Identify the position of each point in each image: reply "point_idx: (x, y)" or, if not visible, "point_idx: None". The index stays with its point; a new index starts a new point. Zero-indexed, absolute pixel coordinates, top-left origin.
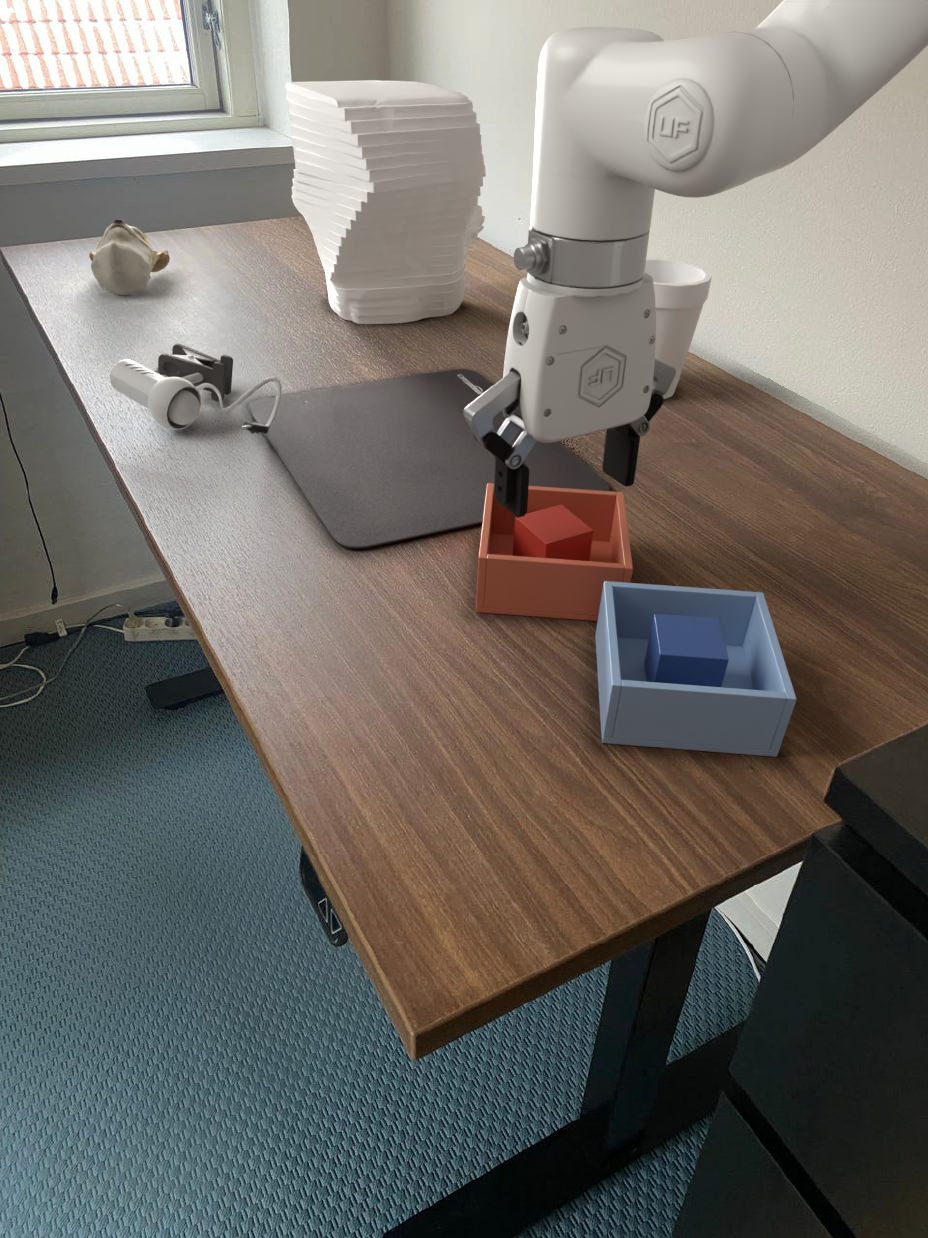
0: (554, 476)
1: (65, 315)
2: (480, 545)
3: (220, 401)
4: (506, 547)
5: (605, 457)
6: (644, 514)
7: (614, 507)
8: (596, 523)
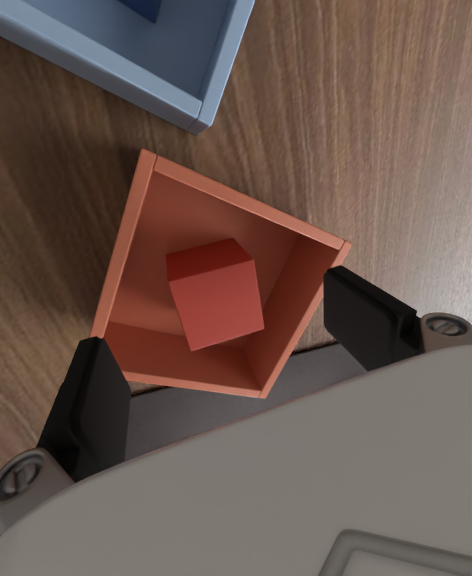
0: (134, 440)
1: None
2: None
3: None
4: None
5: (126, 411)
6: (34, 376)
7: None
8: (126, 339)
